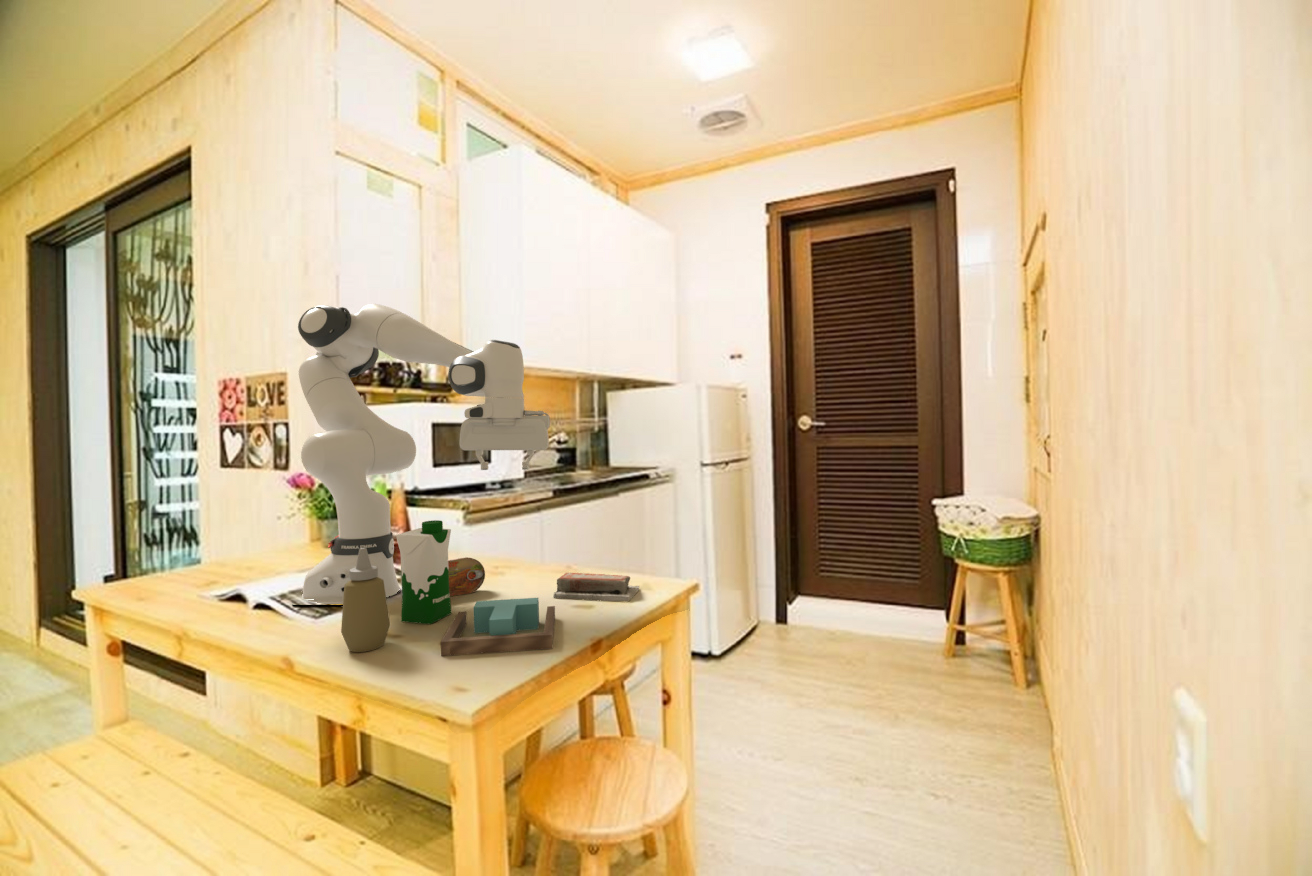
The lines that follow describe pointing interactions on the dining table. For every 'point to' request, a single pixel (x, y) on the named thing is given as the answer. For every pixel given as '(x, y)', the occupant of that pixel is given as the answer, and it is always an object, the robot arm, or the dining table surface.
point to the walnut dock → (495, 638)
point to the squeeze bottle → (364, 607)
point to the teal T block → (506, 616)
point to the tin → (465, 576)
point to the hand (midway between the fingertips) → (505, 469)
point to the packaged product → (594, 587)
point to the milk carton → (425, 573)
